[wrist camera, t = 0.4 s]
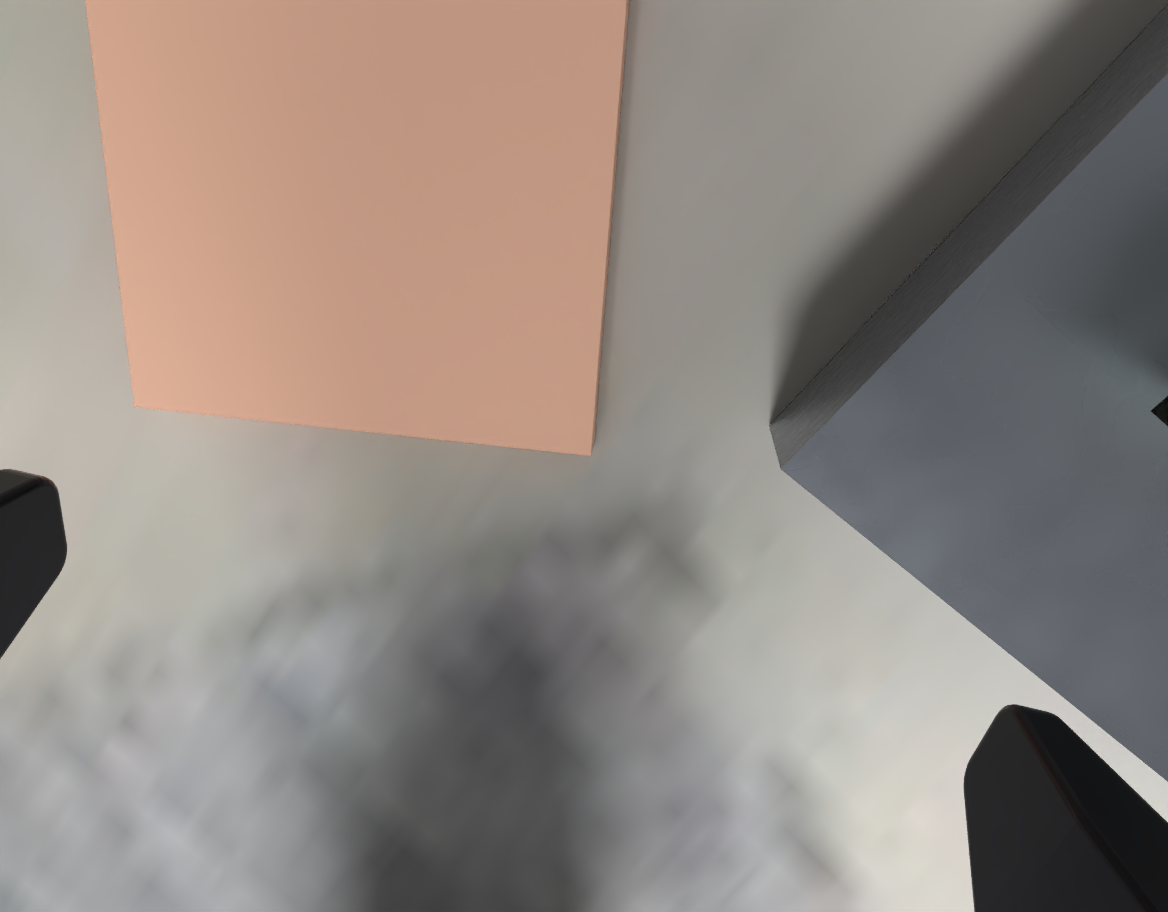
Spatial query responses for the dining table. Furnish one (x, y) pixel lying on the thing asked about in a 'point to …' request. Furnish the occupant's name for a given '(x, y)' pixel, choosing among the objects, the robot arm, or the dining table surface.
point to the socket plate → (1029, 410)
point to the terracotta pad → (365, 209)
